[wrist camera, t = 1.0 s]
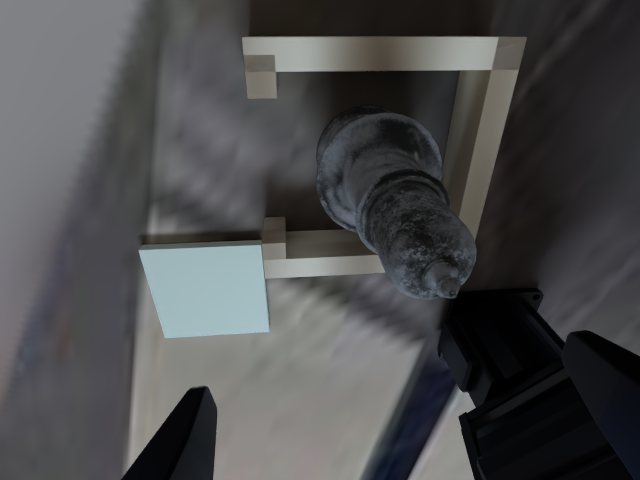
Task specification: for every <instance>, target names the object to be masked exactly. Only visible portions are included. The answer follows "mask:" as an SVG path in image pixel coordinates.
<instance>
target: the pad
mask: <svg viewBox="0 0 640 480" xmlns="http://www.w3.org/2000/svg"><path fill="white" fill-rule="evenodd" d="M139 254H140V257H141V260H142V264H143V267H144V270H145V273H146V277H147V280H148V283H149V287H150V290H151V293H152V297H153V300H154V303H155V306H156V310H157V313H158V316H159V320H160V323H161V326H162V329H163V333H164V336H165V338H175V337H192V336H208V335H225V334H242V333H258V332H269V331H270V323H269V312H268V302H267V291H266V281H265V272H264V262H263V251H262V240H247V241H223V242H199V243H175V244H151V245H142V246H141V247H140V249H139Z"/></svg>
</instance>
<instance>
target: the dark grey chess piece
mask: <svg viewBox="0 0 640 480" xmlns="http://www.w3.org/2000/svg"><path fill="white" fill-rule="evenodd" d="M317 164H318V167H317V176H316V186H317V192H318V198H319V200H320V202H321V204H322V206H323V208H324V210H325V212H326V213H327V214H328V215H329V216H330V217H331V218H332V219H333V221H334V222H336V223H337V224H339V225H340V226H342V227H344V228H345V229H347V230H350V231H353V232H356V233H358V234H359V237H360V239H361V241H362V242H363V243H364V244H365V245H366V247H367V248H368V249H370V250H372V251H373V252H375V253H376V254H378V256H379V258H380V261H381V263H382V266H383V268H384V270H385V273H386V275H387V278H388V279H389V280H390V282H391V283H392V284H393V285H394V286H395V287H396V288H397V290H398V291H400V292H402V293H403V294H405V295H407V296H410V297H414V298H418V299H436V298H441V297H446V298H455V297H456V296H457V294H458V291H459V289H460V286H461V285H463V284H464V283H465V281H466V280H467V279H468V277H469V276H470V274H471V272H472V269H473V267H474V264H475V261H476V253H477V249H476V245H475V241H474V238H473V236H472V234H471V232H470V231H469V229H468V228H467V226H466V225H465V224H464V223H463V222H462V221H461V220H460V219H459V218H458V216H457V215H456V214H455V213H454V212H453V211H452V210H451V209H450V207H451V203H450V199H449V195H448V192H447V190H446V189H445V187H444V185H443V184H442V182H441V181H440V180H441V177H442V158H441V155H440V151H439V147H438V144H437V143H436V141H435V140H434V138H433V136H432V135H431V133H430V132H429V131H428V130H427V129H426V128H425V127H423V126H422V125H421V124H420V123H419V122H418V121H416V120H413V119H411V118H409V117H406V116H404V115H402V114H395V113H393V112H392V111H390V110H387V109H385V108H383V107H379V106H370V105H366V106H360V107H354V108H352V109H350V110H347V111H345V112H343V113H341V114H340V115H339V116H338V117H336V118H335V119H334V120H333V121H331V123H330V124H329V125H328V127H327V128H326V129H325V131H324V132H323V134H322V136H321V139H320V142H319V144H318V150H317Z"/></svg>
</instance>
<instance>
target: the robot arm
mask: <svg viewBox="0 0 640 480" xmlns="http://www.w3.org/2000/svg"><path fill="white" fill-rule="evenodd" d="M542 298H543V293H542V292H541V291H540V290H539V289H538V288H529V289H511V290H492V291H474V292H459V293H458V294H457V296H456V297H455V298H451V301H450V305H449V310H448V314H447V318H446V320H445V321H444V324H443V328H442V332H441V336H440V340H439V351H438V356H439V358H440V360H441V361H446V362H447V364H448V366H449V368H450V370H451V373H452V375H453V377H454V379H455V381H456V383H457V385H458V387H459V389H460V390H461V391H462V392H468V393H469V395H470V397H471V399H472V401H473V403H474V405H475V407H476V408H475V409H473V410H472V411H470V412H468V413H466V412H465V413H463V414H462V415H460V416H459V421H460V425H461V428H462V429H461V431H462V435H463V439H464V442H465V446H466V450H467V454H468V457H469V461H470V465H471V468H472V472H473V476H474V479H475V480H640V356H638V355H636V354H634V353H632V352H630V351H628V350H626V349H624V348H622V347H620V346H618V345H617V344H615V343H613V342H611V341H609V340H607V339H605V338H603V337H601V336H599V335H597V334H595V333H593V332H591V331H587V330H583V331H576V332H571V333H570V334H568V336H567V339H566V342H564V341H563V340H562V339H561V338H560V337H559V336H558V335H557V334H556V332H555V331H554V330H553V329H552V328H551V327H550V326H549V325H548V323H547V322H546V321H545V320H544V319H543V318H542V317H541V316H540V315H539V313H538V312H537V311H538V308H539V306H540V303H541V301H542ZM459 299H460V300H459ZM458 300H459V301H458ZM216 427H217V407H216V404H215V402H214V399H213V397H212V395H211V392H210V390H209V388H208V387H207V386H199V387H193V388H190V389H189V390H188V391H187V392H186V394H185V395H184V396H183V398H182V399H181V400H180V402H179V403H178V404H177V406H176V407H175V408H174V410H173V411H172V412H171V414H170V415H169V416H168V418H167V419H166V420H165V422H164V423H163V424H162V426H161V427H160V428H159V430H158V431H157V432H156V434H155V435H154V436H153V438H152V439H151V440H150V442H149V443H148V444H147V446H146V447H145V448H144V450H143V451H142V452H141V454H140V455H139V456H138V458H137V459H136V460H135V462H134V463H133V464H132V466H131V467H130V468H129V470H128V471H127V472H126V474H125V475H124V476H123V478H122V479H121V480H213V472H214V458H215V442H216Z"/></svg>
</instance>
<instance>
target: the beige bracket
mask: <svg viewBox="0 0 640 480" xmlns="http://www.w3.org/2000/svg"><path fill="white" fill-rule="evenodd" d="M526 40H527V37H508V36H247V37H242V42H243V53H244V63H245V74H246V84H247V95H248V99H257V98H277V95H278V74H277V72H302V71H429V70H460V74H459V79H458V85H457V90H456V96H455V101H454V107H453V112H452V118H451V123H450V129H449V134H448V140H447V145H446V151H445V157H444V162H443V168H442V177H441V180H440V181H441V182H442V184H443V185H444V187H445V189H446V190H447V192H448V195H449V199H450V203H451V207H450V209H451V210H452V211H453V212H454V213H455V214H456V215H457V216H458V218H459V219H460V220H461V221H462V222H463V223H464V224H465V225H466V226H467V228H468V229H469V231H470V232H471V234H472V236H473V238H474V241H475V239H476V235H477V231H478V227H479V224H480V220H481V216H482V212H483V208H484V204H485V200H486V196H487V192H488V188H489V185H490V181H491V177H492V173H493V169H494V165H495V161H496V157H497V153H498V149H499V145H500V142H501V138H502V134H503V130H504V126H505V122H506V118H507V114H508V110H509V106H510V102H511V99H512V95H513V91H514V87H515V83H516V79H517V75H518V71H519V67H520V63H521V60H522V56H523V52H524V48H525V44H526ZM262 251H263V262H264V272H265V279H268V278H288V277H308V276H328V275H348V274H369V273H385V270H384V268H383V266H382V263H381V261H380V258H379V256H378V254H376V253H375V252H373V251H372V250H370V249H368V248H367V247H366V245H365V244H364V243H363V242H362V241H361V239H360V237H359V234H358V233H356V232H353V231H350V230H347V229H339V230H315V231H290V232H286V220H285V217H265V219H264V228H263V238H262Z"/></svg>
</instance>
